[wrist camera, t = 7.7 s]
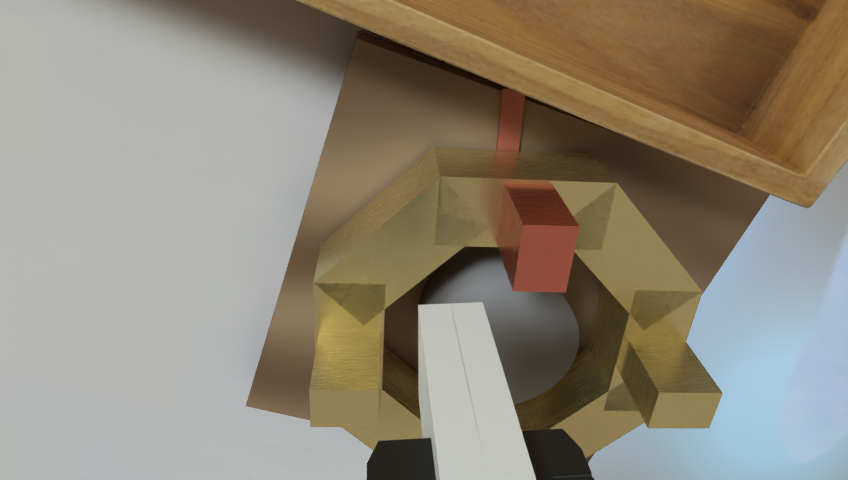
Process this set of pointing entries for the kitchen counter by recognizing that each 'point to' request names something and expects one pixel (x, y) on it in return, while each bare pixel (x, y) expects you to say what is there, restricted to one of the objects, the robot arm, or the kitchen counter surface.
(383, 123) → the walnut base
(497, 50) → the tray
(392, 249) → the ring nut
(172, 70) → the kitchen counter surface
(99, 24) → the kitchen counter surface
